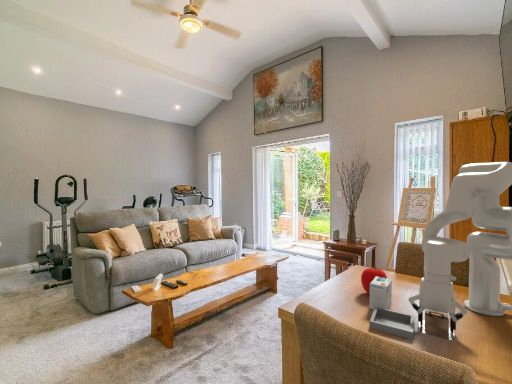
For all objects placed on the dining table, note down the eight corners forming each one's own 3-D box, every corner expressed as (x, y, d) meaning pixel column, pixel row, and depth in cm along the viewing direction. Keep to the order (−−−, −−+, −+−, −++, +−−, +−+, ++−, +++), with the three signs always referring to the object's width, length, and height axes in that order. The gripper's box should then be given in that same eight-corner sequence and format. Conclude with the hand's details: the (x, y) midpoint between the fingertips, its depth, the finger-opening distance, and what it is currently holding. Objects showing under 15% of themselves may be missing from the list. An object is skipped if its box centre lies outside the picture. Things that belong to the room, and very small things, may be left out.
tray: (414, 324, 95) (414, 315, 95) (412, 343, 84) (413, 332, 84) (375, 315, 102) (375, 306, 102) (369, 330, 91) (369, 321, 91)
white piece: (452, 329, 92) (453, 312, 91) (455, 344, 83) (456, 325, 83) (419, 321, 97) (419, 305, 97) (418, 334, 89) (419, 316, 88)
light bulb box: (375, 299, 116) (375, 275, 116) (392, 303, 112) (392, 278, 112) (369, 308, 108) (369, 282, 107) (386, 313, 104) (387, 286, 103)
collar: (447, 327, 91) (447, 313, 91) (448, 337, 85) (448, 322, 85) (424, 322, 95) (424, 308, 94) (424, 331, 89) (424, 316, 89)
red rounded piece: (362, 298, 117) (362, 270, 117) (359, 289, 128) (359, 263, 127) (390, 301, 114) (390, 272, 114) (384, 291, 125) (385, 265, 124)
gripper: (467, 278, 88) (466, 329, 88) (408, 269, 97) (407, 316, 98) (471, 286, 82) (470, 341, 82) (407, 275, 91) (406, 325, 92)
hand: (436, 327), depth 90 cm, fingers open, 8 cm apart
